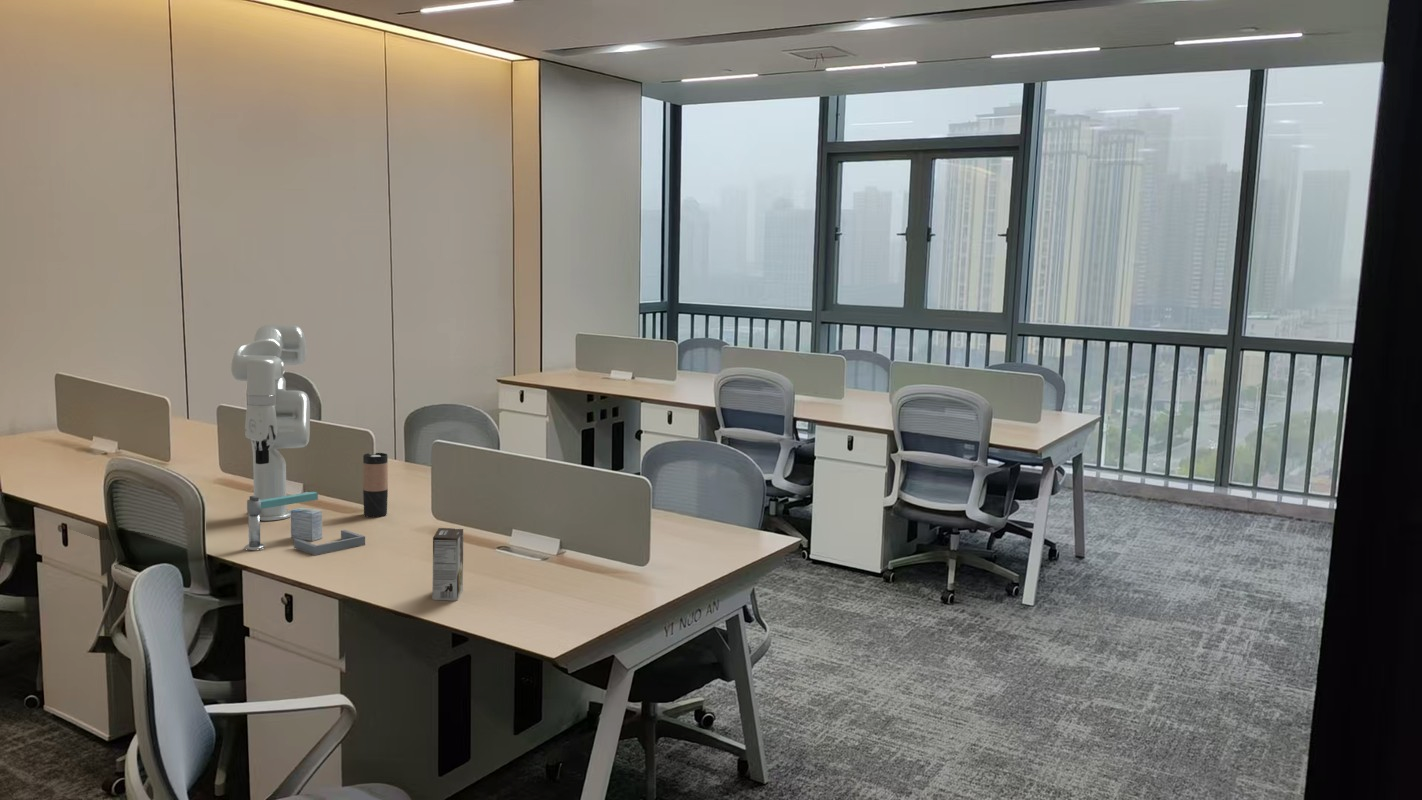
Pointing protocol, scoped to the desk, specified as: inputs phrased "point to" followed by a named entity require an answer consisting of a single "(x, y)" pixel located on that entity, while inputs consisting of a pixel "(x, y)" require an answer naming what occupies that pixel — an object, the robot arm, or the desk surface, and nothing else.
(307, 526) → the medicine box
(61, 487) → the desk surface
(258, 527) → the post
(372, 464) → the travel mug
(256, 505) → the bar
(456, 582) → the coffee box
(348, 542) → the bay
